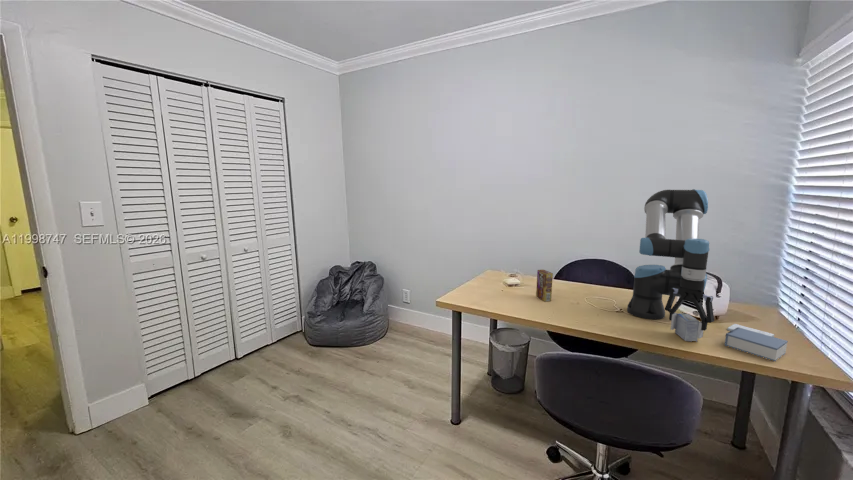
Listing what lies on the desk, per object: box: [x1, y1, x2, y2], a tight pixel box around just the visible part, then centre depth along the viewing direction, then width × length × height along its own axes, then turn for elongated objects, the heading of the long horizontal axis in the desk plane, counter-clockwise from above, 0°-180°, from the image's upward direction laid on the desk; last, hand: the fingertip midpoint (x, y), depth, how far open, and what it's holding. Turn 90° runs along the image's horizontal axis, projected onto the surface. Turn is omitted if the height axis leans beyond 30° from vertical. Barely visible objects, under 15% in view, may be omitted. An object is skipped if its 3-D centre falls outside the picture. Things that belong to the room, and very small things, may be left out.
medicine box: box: [674, 312, 700, 342], centre depth 136 cm, size 8×4×9 cm, turn 168°
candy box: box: [535, 269, 554, 302], centre depth 183 cm, size 9×4×15 cm, turn 13°
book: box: [724, 327, 788, 362], centre depth 126 cm, size 14×11×5 cm
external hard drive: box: [727, 323, 775, 337], centre depth 140 cm, size 2×8×12 cm
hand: (686, 332), depth 137 cm, fingers closed on medicine box, 9 cm apart
